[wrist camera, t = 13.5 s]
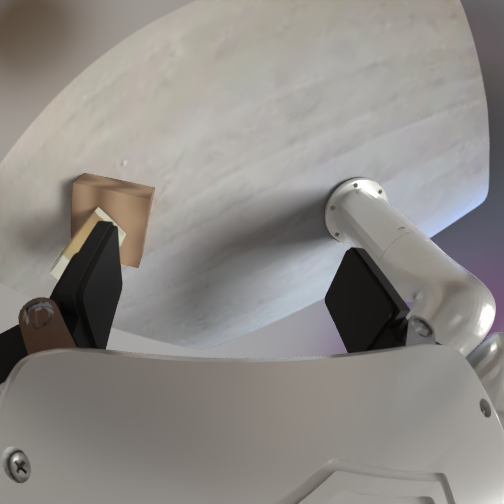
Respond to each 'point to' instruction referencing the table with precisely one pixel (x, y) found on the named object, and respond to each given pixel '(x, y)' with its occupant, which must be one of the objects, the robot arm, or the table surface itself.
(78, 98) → the table surface
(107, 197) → the walnut block
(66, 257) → the skincare box
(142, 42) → the table surface
